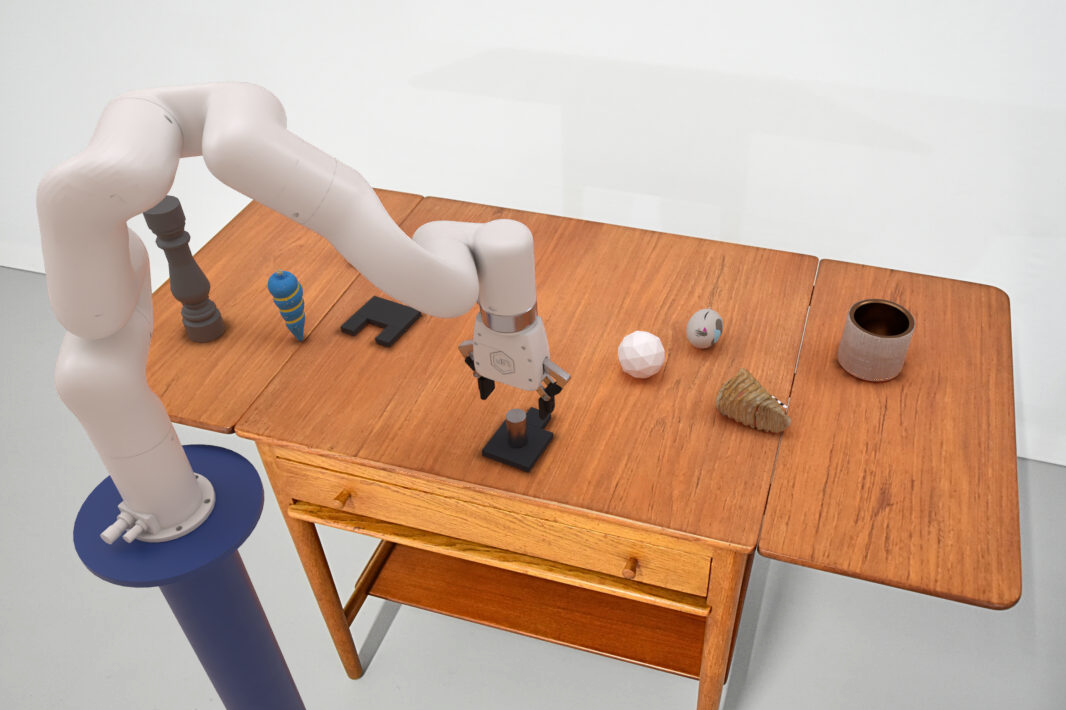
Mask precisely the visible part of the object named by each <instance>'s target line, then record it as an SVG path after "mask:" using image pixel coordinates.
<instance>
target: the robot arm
mask: <svg viewBox="0 0 1066 710" xmlns="http://www.w3.org/2000/svg"><path fill="white" fill-rule="evenodd" d="M287 123H288V118H287V112H286V110H285V107H284V105H283V103H282V102H281V101H280V99H279V98H278V97H277V96H276V95H275V94H274V93H273V92H272V91H271V90H268V89H267V88H266V87H263V86H261V85H259V84H255V83H251V82H247V81H235V80H234V81H230V80H228V81H226V80H225V81H211V82H200V83H199V82H198V83H191V84H190V83H188V84H178V85H167V86H155V87H147V88H137V89H131V90H129V91H125V92H123V93H121V94H118V95H117V96H116V97H114V98H112V99H110V101H109V102H108V103H107V104H106V105H105V106H104V108H103V109H102V111H101V113H100V116H99V118H98V120H97V123H96V126H95V128H94V130H93V133H92V134H91V137H90V138H89V141H88V144H87V146H86V147H85V148H84V149H83V150H82V151H80V152H78V153H76V154H75V155H74V154H73V156H70V157H68V158H66V159H64V160H63V161H60V162H59V163H56V164H55V165H53V167H51V168H50V169H49V170H48V171H47V172H46V173H44V175H43V176H42V178H41V179H40V181H39V183H38V185H37V188H36V195H35V196H36V197H35V204H36V205H35V206H36V214H37V221H38V226H39V235H40V242H41V253H42V260H43V266H44V272H45V277H46V286H47V287H46V289H47V296H48V302H49V306H50V308H51V311H52V314H53V315H54V317H55V318H56V320H57V321H58V323H59V324H60V325H61V326H62V327H63V329H64V330H65V331H66V332H65V334H64V337H63V339H62V342H61V345H60V349H59V351H58V353H57V354H58V355H57V358H56V361H55V367H54V375H53V376H54V377H53V379H54V387H55V390H56V393H57V395H58V397H59V399H60V401H61V402H62V403H63V404H64V405H65V407H66V408H67V409H68V410H69V411H70V412H71V413H72V414H73V416H74V417H75V418H76V419H77V420H78V422H79V423H80V425H81V426H82V428H83V429H84V431H85V432H86V434H87V436H88V438H89V440H90V442H91V444H92V445H93V447H94V449H95V450H96V452H97V454H98V455H99V458H100V459H101V461H102V464H103V465H104V466H105V469H106V470H107V473H108V474H109V475H110V476H111V478H112V480H113V482H114V484H115V485H116V487H117V489H118V491H119V493H120V495H121V497H122V499H123V500H124V501H123V502H121V503H120V504H119V505H118V507H119V509H120V511H121V514H120V515H118V516H117V521H116V522H115V523H114V524H113V525H111V526H109V527H108V528H107V529H106V530H105V531H104V532H103V533H102V534H100V537H101V538H102V539H103V540H104V541H105V542H106V543H108V544H112V543H113V542H114V541H115V540H116V539H117V538H119V537H120V536H121V535H122V533H123V532H124V531H125V530H126V531H127V533H126V534H125V535H123V536H122V537H123V539H124V540H125V541H126V542H128V543H131V542H132V541H133V540H134V539H138V540H140V541H144V542H165V541H170V540H174V539H177V538H179V537H182V536H184V535H186V534H188V533H190V532H192V531H193V530H195V529H196V528H197V527H199V526H200V525H201V524H202V523H203V522H204V521H205V520H206V519H207V518H208V517H209V515H210V514H211V512H212V510H213V508H214V505H215V501H216V496H215V491H214V488H213V486H212V484H211V483H210V481H209V480H208V479H207V478H205V477H204V476H202V475H200V474H197V473H194V472H193V470H192V468H191V465H190V463H189V461H188V459H187V456H186V454H185V452H184V450H183V447H182V445H183V444H182V443H181V440H180V438H179V436H178V434H177V431H176V429H175V427H174V424H173V422H172V420H171V418H170V416H169V413H168V411H167V409H166V407H165V405H164V403H163V401H162V400H161V398H160V397H159V396H158V395H157V394H156V393H155V391H154V390H152V389H151V387H150V386H149V383H148V379H147V367H148V361H149V358H150V357H149V356H150V350H151V345H152V341H153V335H154V329H155V328H154V327H155V318H154V316H155V315H154V302H153V289H152V287H153V286H152V275H151V262H150V255H149V252H148V250H147V249H148V248H147V247H146V245H145V243H144V241H143V240H142V238H141V237H140V236H139V235H138V234H137V233H136V232H135V231H134V230H133V228H130V227H129V226H128V221H129V220H131V219H133V218H135V217H137V216H139V215H141V214H143V212H146V211H148V210H149V209H151V208H153V207H154V206H156V205H157V204H158V203H159V202H161V201H162V200H163V199H164V198H165V197H166V195H169V193H170V191H171V189H172V187H173V186H174V182H175V179H176V175H177V171H178V168H179V164H180V159H185V158H195V157H202V158H203V162H204V164H205V166H206V168H207V169H208V171H209V172H210V174H211V175H212V176H213V177H214V178H215V179H217V180H218V181H219V182H221V183H222V184H223V185H225V186H226V187H229V188H230V189H232V190H234V191H236V192H238V193H239V194H241V195H243V196H245V197H247V198H249V199H251V200H253V201H255V202H256V203H258V204H260V205H262V206H264V207H266V208H268V209H270V210H272V211H274V212H275V213H278V214H279V215H282V216H284V217H285V218H287V219H290V220H291V221H293V222H295V223H297V224H299V225H300V226H302V227H304V228H306V229H308V230H310V231H312V232H314V233H315V234H317V235H319V236H321V237H322V238H324V239H325V240H326V241H327V242H328V243H329V244H330V245H331V246H332V247H333V248H334V249H335V250H336V252H338V253H339V254H340V256H341V257H342V258H343V259H345V260H346V261H347V262H348V263H349V264H350V265H351V266H352V267H353V268H354V269H355V270H357V272H359V273H360V274H361V276H363V277H364V278H365V279H366V280H367V281H368V282H370V283H371V284H372V285H374V287H376V288H377V289H378V290H379V291H381V292H383V293H384V294H385V295H387V296H389V297H391V298H392V299H394V300H396V301H398V302H399V303H401V304H403V305H406V306H409V307H412V308H414V309H416V310H418V311H420V312H421V314H425V315H428V316H431V317H434V318H439V319H456V318H459V317H462V316H464V315H466V314H467V313H469V312H470V311H471V310H472V309H473V308H474V306H475V305H478V306H479V311H478V312H477V314H476V315H475V320H474V328H473V339H467V340H462V341H461V343H460V344H459V345H457V349H458V351H459V352H460V354H461V356H462V357H463V358H464V363H465V364H466V365H467V366H468V368H470V370H471V371H472V376H473V377H474V378H475V379H476V381H477V386H478V387H477V388H478V391H479V396H480V400H481V401H486V400H487V399H488V398H489V397H490V395H492V393H493V392H494V391H495V389H496V382H497V383H500V384H504V385H507V386H510V387H513V388H517V389H519V390H523V391H527V392H535V391H536V392H537V394H538V395H539V397H538V401H537V403H538V409H539V418H540V419H541V420H545V418H546V417H547V416H548V414H549V413H550V414H551V415H552V413H553V412H554V411H555V409H556V396H558V395H559V394H560V393H561V392H562V391H563V390H564V388H565V387H566V386H567V384H568V383H569V381H570V380H571V379H572V375H571V374H570V373H568V372H567V371H566V370H564V369H563V368H562V367H560V366H559V365H557V364H556V363H555V362H554V361H552V360H551V353H550V352H551V351H550V345H549V340H548V339H549V338H548V334H547V330H546V327H545V323H544V321H543V318H542V317H541V316H540V315H539V314H538V313H539V311H538V297H537V296H538V294H537V279H536V278H537V276H536V262H535V261H536V260H535V257H536V256H535V244H534V236H533V233H532V232H531V229H529V227H528V226H527V225H526V224H524V223H522V222H521V221H518V220H514V219H512V218H511V219H510V218H498V219H493V220H490V221H488V222H483V223H482V222H468V221H456V220H433V221H429V222H426V223H424V224H422V225H421V226H419V227H418V228H417V229H416V231H414V233H413V235H412V237H409V236H408V234H406V233H405V232H404V231H403V230H402V229H401V228H400V226H399V225H398V224H397V223H396V222H395V221H394V219H393V218H392V216H391V215H390V214H389V213H388V211H387V209H386V208H385V206H384V205H383V203H382V201H381V200H380V198H379V196H378V195H377V193H376V191H375V190H374V188H373V187H372V186H371V184H370V182H368V180H367V179H366V178H365V177H364V176H363V174H362V173H361V172H359V171H358V170H357V169H355V168H353V167H351V166H349V165H348V164H346V163H344V162H343V161H341V160H339V159H337V158H336V157H334V156H332V155H331V154H329V153H327V152H325V151H323V149H320V148H319V147H317V146H315V145H313V143H311V142H308V141H306V140H305V139H303V138H301V137H300V136H299V135H297V134H295V133H293V132H291V131H290V130H288V129H287V127H288V124H287ZM476 303H477V304H476ZM543 382H544V384H545V385H546V387H545V386H544V385H543V384H542V383H543Z"/></svg>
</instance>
